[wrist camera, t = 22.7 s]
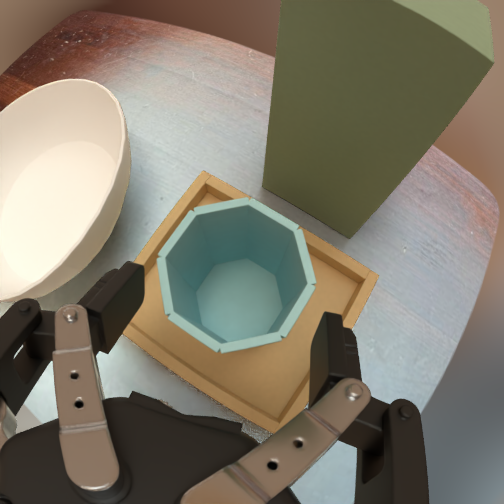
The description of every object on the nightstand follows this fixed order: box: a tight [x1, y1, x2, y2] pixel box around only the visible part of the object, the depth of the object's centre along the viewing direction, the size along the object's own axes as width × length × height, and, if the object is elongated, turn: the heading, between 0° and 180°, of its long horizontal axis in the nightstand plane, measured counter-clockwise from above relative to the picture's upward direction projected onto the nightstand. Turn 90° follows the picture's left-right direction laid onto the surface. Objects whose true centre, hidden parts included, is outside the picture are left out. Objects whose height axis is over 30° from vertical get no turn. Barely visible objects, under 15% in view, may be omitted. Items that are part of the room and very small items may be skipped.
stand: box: [262, 0, 494, 239], centre depth 16 cm, size 8×8×18 cm
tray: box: [123, 171, 379, 434], centre depth 21 cm, size 15×13×2 cm
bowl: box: [0, 79, 131, 302], centre depth 20 cm, size 18×18×7 cm
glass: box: [157, 197, 317, 354], centre depth 17 cm, size 6×6×9 cm
